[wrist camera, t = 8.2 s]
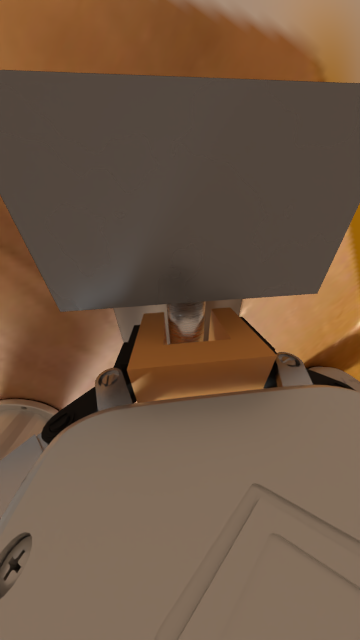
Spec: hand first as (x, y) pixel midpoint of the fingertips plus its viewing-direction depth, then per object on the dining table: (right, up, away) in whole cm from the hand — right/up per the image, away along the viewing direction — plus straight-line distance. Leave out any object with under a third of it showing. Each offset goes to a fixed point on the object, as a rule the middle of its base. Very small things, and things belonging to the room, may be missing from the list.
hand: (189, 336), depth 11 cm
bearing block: (-1, +10, +2) cm, 10 cm away
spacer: (0, 0, +1) cm, 1 cm away
